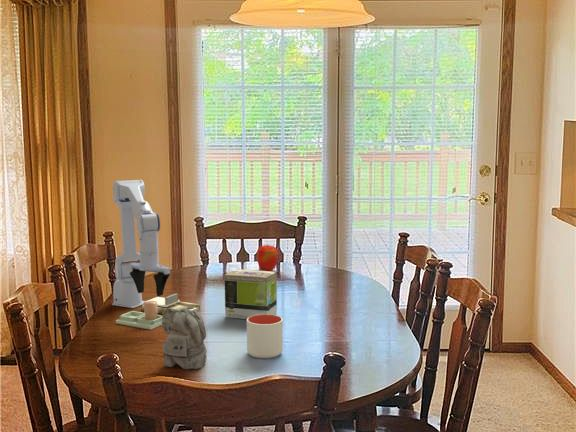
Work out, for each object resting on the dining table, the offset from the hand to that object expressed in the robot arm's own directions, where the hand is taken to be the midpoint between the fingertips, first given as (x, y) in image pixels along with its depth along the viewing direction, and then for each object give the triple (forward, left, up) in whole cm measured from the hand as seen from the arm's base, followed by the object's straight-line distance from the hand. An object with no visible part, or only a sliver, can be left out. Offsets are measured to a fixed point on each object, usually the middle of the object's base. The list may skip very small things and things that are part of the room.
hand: (150, 294), depth 219 cm
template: (-4, +16, -10) cm, 19 cm away
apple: (-3, +83, -10) cm, 84 cm away
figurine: (+31, -24, -10) cm, 40 cm away
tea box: (+24, +23, -10) cm, 34 cm away
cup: (+46, -7, -10) cm, 47 cm away
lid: (-8, +16, -8) cm, 19 cm away
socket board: (-3, 0, -10) cm, 11 cm away
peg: (0, 0, -9) cm, 9 cm away
